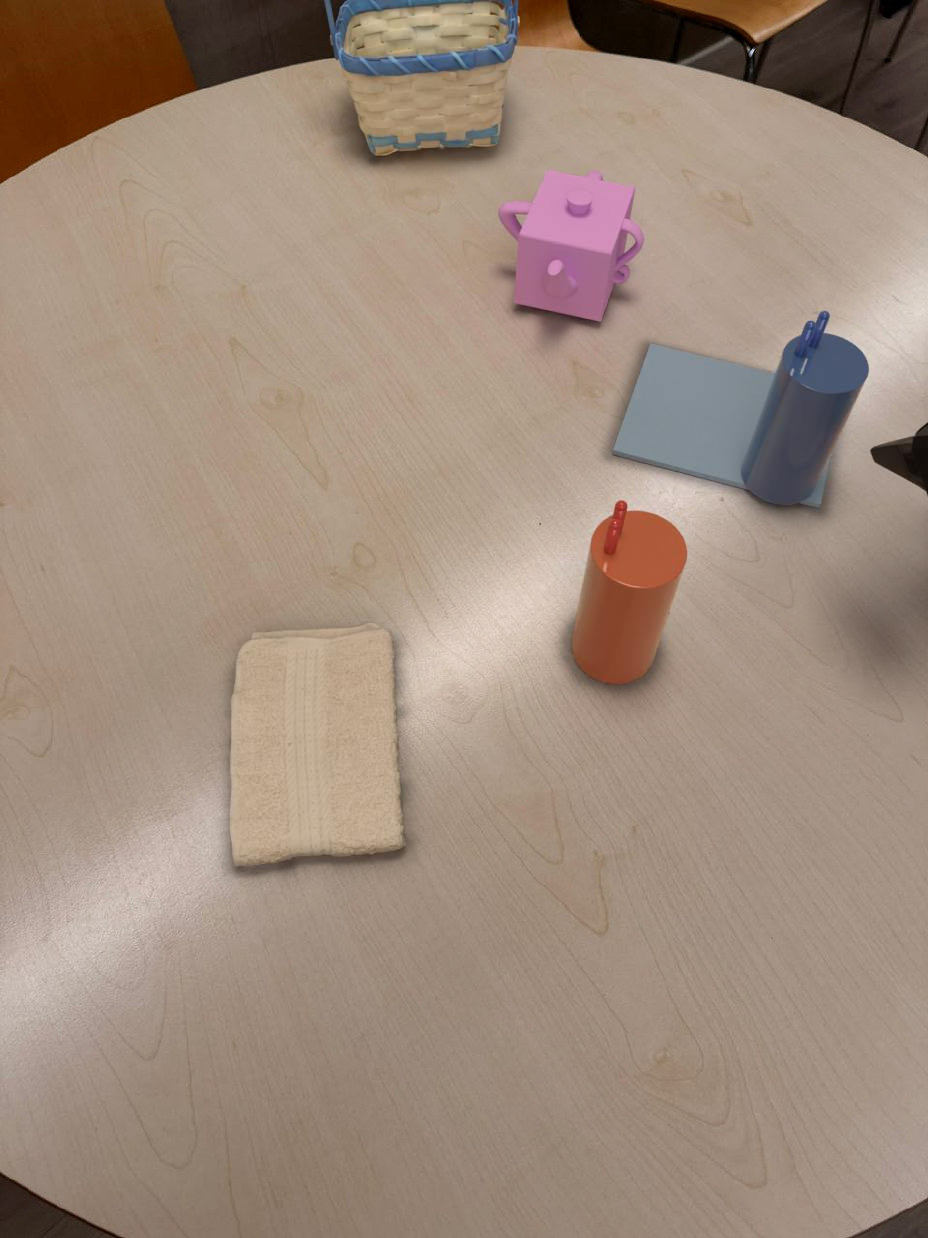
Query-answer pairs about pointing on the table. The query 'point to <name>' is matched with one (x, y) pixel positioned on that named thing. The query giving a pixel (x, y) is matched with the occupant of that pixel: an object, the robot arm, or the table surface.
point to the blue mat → (696, 416)
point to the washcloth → (314, 746)
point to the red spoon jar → (626, 594)
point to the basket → (426, 69)
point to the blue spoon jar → (803, 414)
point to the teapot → (572, 243)
